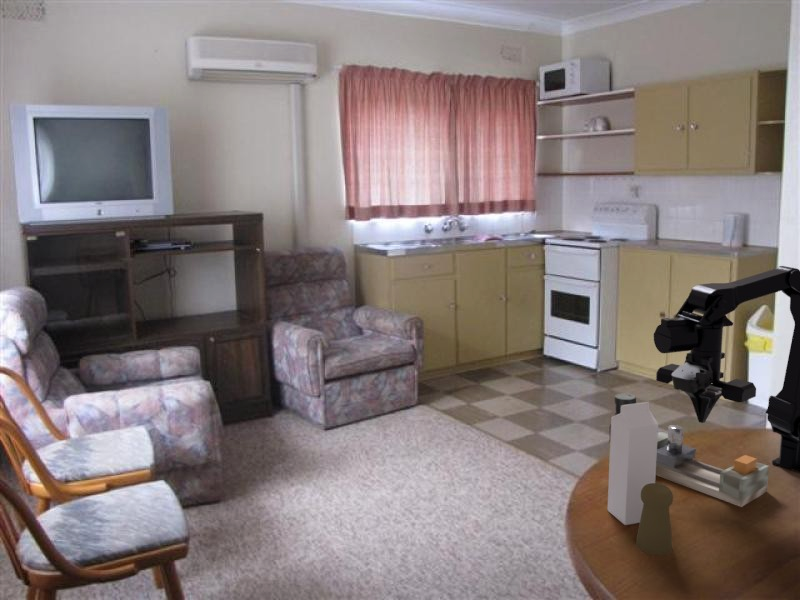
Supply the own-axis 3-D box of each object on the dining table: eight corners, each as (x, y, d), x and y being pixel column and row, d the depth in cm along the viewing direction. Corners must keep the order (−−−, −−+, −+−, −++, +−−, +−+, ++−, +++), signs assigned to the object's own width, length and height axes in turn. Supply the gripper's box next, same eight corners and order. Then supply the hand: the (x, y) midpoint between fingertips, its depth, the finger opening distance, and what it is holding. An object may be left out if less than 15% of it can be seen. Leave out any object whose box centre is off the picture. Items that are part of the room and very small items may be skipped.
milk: (653, 521, 134) (660, 407, 130) (624, 525, 133) (630, 411, 128) (634, 505, 140) (640, 396, 136) (606, 510, 138) (611, 400, 134)
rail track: (659, 454, 163) (660, 431, 162) (766, 491, 145) (769, 465, 144) (632, 466, 157) (633, 442, 156) (741, 507, 139) (743, 480, 138)
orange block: (743, 469, 145) (744, 454, 144) (755, 473, 143) (756, 458, 142) (733, 474, 142) (734, 460, 142) (745, 478, 141) (746, 464, 140)
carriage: (673, 450, 159) (675, 420, 158) (695, 457, 155) (697, 426, 154) (652, 460, 154) (654, 428, 153) (674, 467, 150) (676, 435, 149)
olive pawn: (675, 556, 122) (679, 495, 120) (637, 553, 123) (640, 493, 121) (669, 538, 128) (673, 480, 126) (633, 535, 129) (636, 477, 127)
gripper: (641, 346, 148) (638, 419, 151) (728, 366, 134) (723, 446, 137) (673, 337, 155) (670, 407, 158) (760, 354, 140) (754, 431, 143)
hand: (701, 422), depth 149 cm, fingers closed
